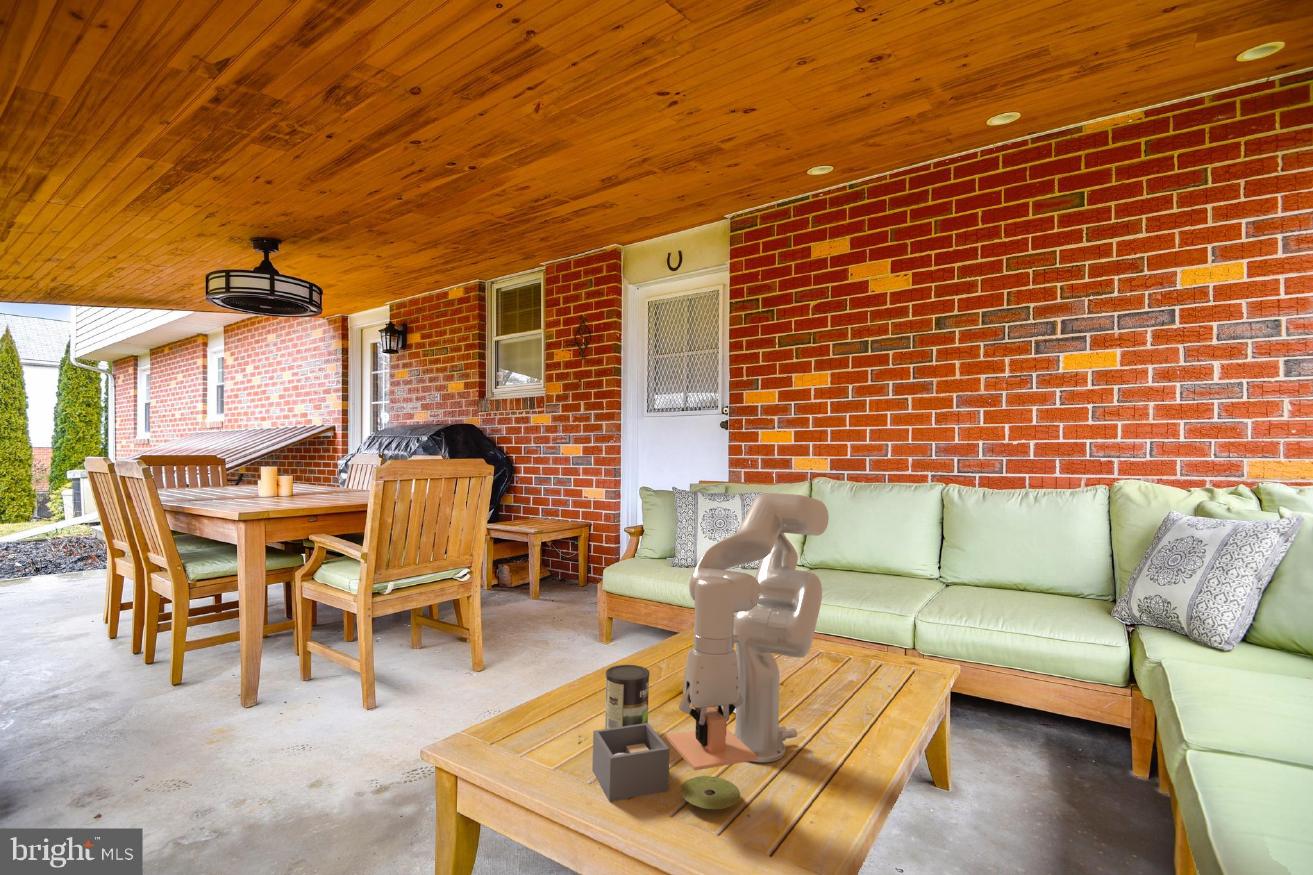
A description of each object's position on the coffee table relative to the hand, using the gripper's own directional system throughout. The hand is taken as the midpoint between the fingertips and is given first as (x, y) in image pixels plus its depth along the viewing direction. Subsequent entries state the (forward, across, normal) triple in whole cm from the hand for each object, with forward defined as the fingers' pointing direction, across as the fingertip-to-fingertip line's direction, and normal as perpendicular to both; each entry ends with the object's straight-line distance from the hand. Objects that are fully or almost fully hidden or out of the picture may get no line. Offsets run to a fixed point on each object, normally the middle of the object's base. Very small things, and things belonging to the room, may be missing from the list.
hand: (710, 740), depth 114 cm
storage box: (+11, +12, -12) cm, 20 cm away
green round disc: (+12, 0, 0) cm, 12 cm away
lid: (+1, 0, 0) cm, 1 cm away
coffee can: (+11, +6, -32) cm, 35 cm away
